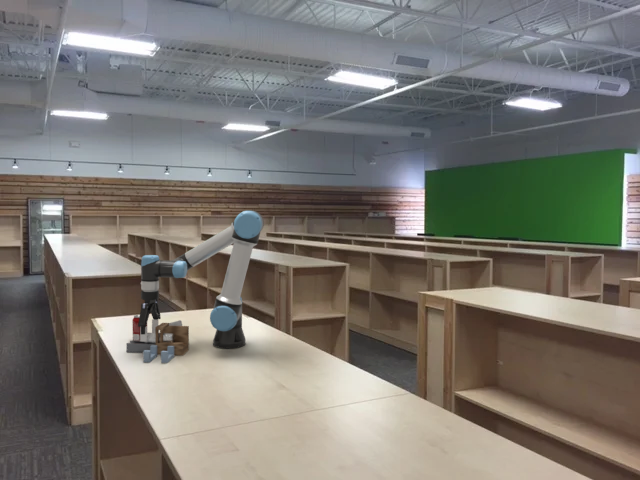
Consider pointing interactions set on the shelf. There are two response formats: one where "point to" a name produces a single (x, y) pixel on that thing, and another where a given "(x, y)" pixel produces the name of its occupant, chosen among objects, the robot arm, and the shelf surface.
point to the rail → (137, 346)
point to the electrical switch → (176, 323)
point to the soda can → (136, 328)
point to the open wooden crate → (180, 338)
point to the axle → (152, 338)
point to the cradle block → (152, 353)
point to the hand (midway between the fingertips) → (149, 337)
